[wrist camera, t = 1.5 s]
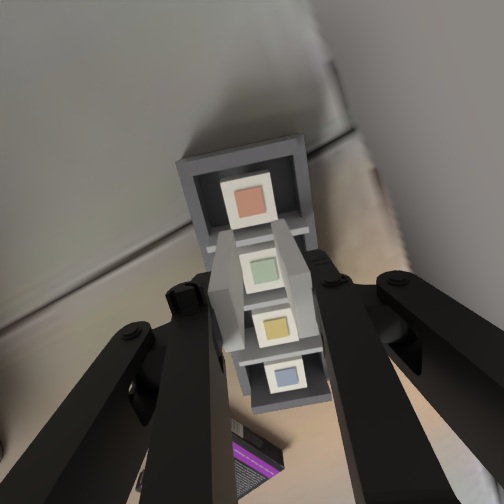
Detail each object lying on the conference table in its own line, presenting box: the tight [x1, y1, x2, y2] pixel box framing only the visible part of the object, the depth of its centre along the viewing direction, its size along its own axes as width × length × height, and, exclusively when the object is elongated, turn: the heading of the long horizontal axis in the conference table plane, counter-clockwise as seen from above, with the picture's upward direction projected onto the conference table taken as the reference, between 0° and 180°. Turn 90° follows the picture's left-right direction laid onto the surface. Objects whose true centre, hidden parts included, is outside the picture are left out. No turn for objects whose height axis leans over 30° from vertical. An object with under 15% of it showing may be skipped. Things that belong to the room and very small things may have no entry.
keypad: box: [175, 134, 332, 415], centre depth 33 cm, size 12×30×6 cm, turn 11°
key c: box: [220, 169, 278, 230], centre depth 28 cm, size 4×4×3 cm
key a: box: [237, 240, 285, 294], centre depth 31 cm, size 4×4×3 cm
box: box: [135, 417, 285, 500], centre depth 48 cm, size 14×4×20 cm
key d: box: [252, 303, 299, 348], centre depth 33 cm, size 4×4×3 cm
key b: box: [264, 355, 307, 394], centre depth 36 cm, size 4×4×3 cm
